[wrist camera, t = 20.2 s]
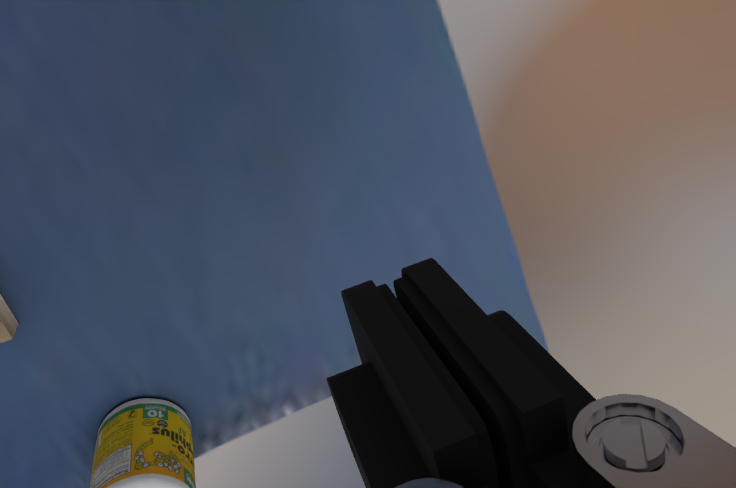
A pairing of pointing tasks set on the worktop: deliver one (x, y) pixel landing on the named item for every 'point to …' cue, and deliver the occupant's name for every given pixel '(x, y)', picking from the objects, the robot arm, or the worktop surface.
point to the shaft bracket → (6, 322)
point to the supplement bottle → (144, 447)
